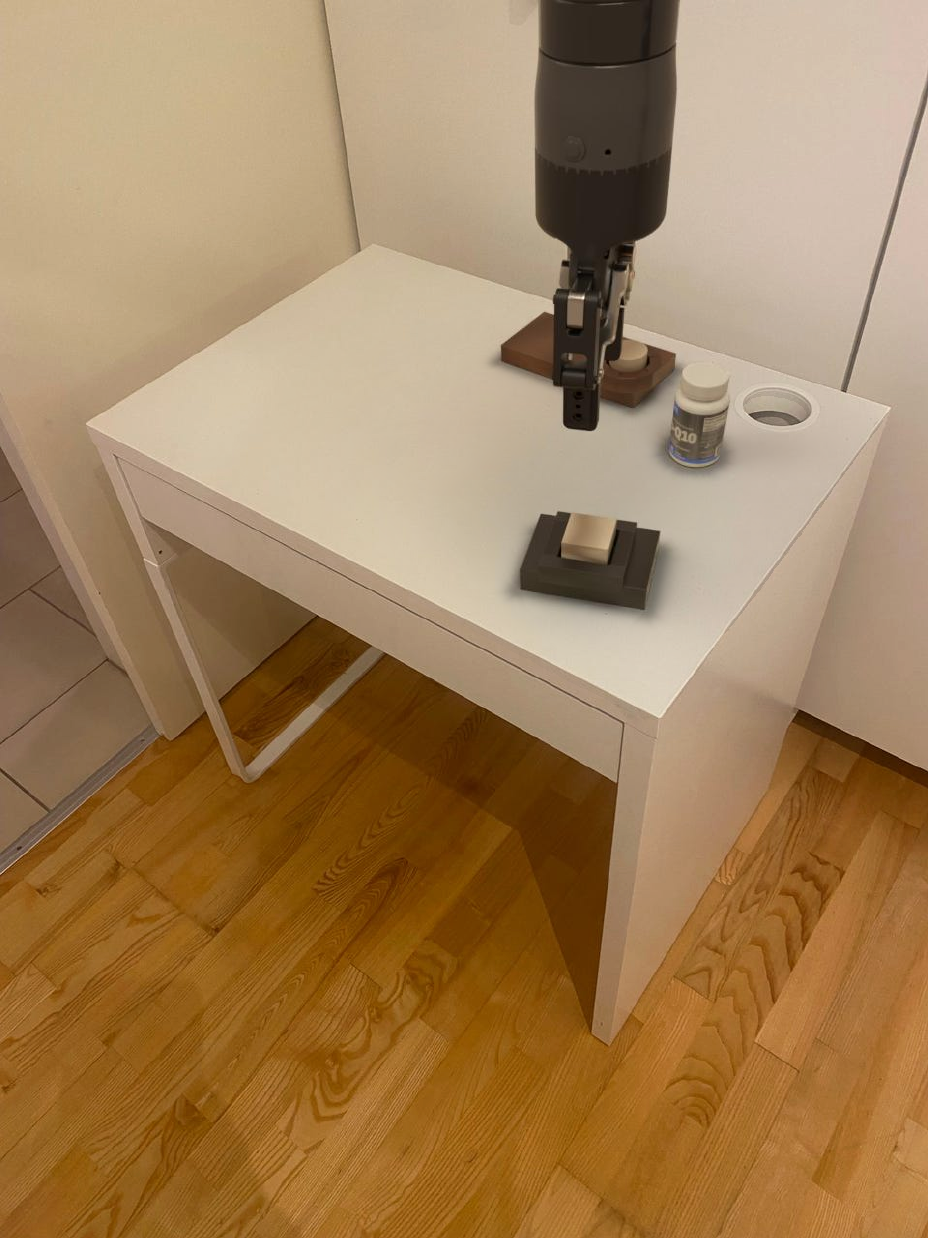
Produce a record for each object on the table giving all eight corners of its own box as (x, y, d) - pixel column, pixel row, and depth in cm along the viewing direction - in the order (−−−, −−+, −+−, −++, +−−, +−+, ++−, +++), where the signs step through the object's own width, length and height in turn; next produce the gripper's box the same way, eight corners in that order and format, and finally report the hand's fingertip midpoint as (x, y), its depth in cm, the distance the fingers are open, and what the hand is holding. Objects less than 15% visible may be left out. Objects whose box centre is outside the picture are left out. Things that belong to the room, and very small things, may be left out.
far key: (653, 360, 93) (654, 346, 92) (634, 377, 91) (635, 363, 90) (621, 349, 95) (622, 335, 94) (601, 366, 93) (602, 352, 92)
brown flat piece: (683, 372, 97) (687, 342, 94) (637, 417, 92) (639, 385, 89) (544, 327, 104) (544, 297, 102) (495, 365, 100) (493, 335, 97)
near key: (615, 535, 75) (616, 518, 74) (607, 566, 73) (608, 549, 72) (570, 528, 76) (571, 511, 75) (561, 558, 74) (561, 542, 73)
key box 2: (658, 550, 79) (662, 513, 76) (642, 618, 74) (646, 581, 71) (540, 532, 82) (540, 496, 79) (517, 597, 76) (516, 561, 74)
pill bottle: (657, 448, 88) (666, 369, 82) (699, 431, 90) (710, 352, 84) (689, 475, 86) (700, 395, 79) (731, 457, 87) (745, 377, 81)
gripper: (652, 195, 47) (631, 461, 59) (689, 91, 56) (665, 340, 68) (503, 186, 49) (512, 447, 60) (563, 87, 58) (561, 330, 70)
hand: (593, 390), depth 64 cm, fingers open, 8 cm apart
